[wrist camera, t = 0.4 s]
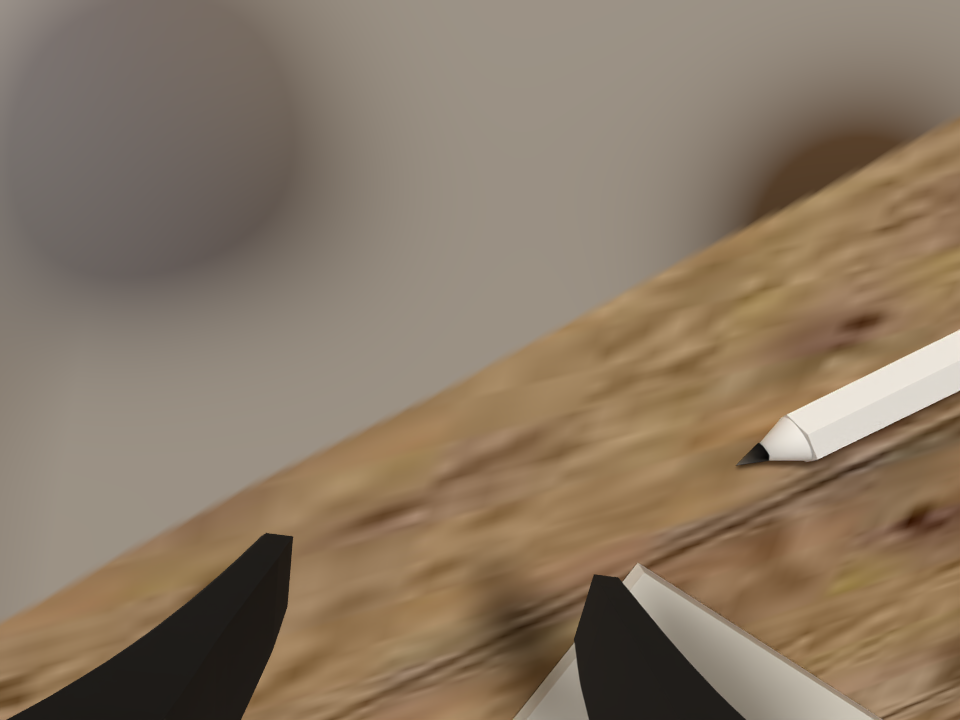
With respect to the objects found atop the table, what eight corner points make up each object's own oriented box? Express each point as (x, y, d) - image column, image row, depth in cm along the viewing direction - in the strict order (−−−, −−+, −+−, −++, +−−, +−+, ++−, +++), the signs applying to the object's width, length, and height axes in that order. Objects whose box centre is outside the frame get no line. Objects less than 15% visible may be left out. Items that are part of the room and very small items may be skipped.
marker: (716, 449, 25) (1039, 290, 24) (742, 491, 24) (1076, 329, 23) (730, 442, 22) (1091, 264, 21) (759, 489, 21) (1134, 307, 20)
